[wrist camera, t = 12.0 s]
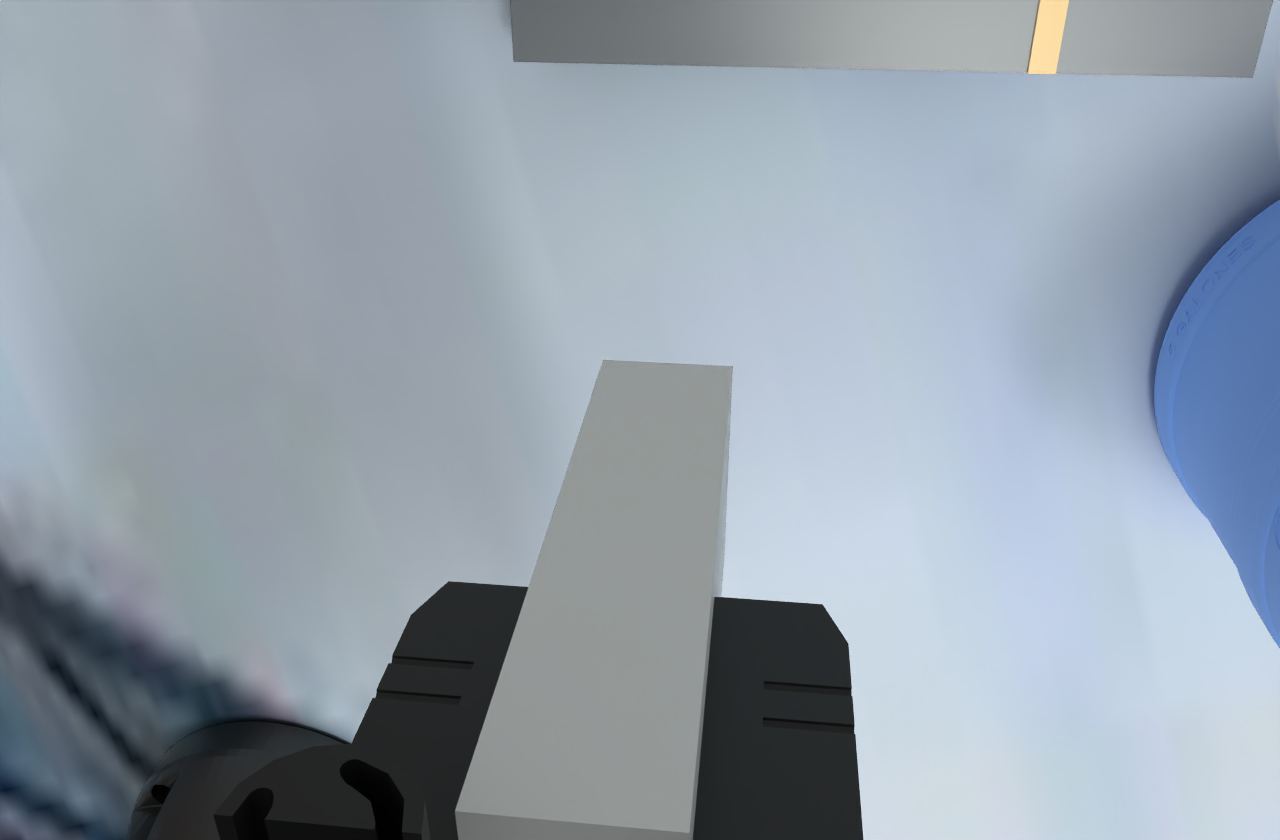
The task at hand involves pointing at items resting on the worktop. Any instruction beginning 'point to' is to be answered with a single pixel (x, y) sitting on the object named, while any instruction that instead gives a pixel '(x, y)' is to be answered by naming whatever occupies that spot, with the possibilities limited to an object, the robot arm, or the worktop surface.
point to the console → (901, 34)
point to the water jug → (1231, 403)
